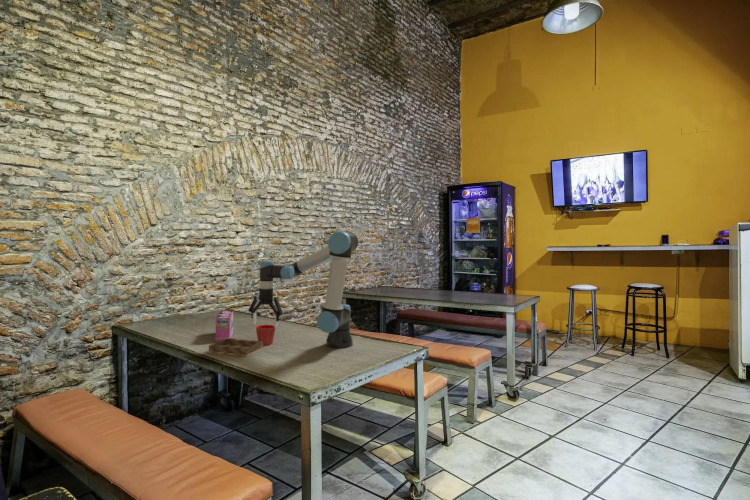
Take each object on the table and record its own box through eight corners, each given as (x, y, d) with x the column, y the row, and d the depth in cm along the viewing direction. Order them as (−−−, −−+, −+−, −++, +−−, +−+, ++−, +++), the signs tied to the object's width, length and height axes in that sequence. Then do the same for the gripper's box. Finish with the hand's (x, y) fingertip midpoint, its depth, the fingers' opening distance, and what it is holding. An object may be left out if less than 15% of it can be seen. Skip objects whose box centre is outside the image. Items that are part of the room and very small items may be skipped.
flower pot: (268, 340, 244) (269, 323, 244) (278, 343, 237) (279, 326, 236) (252, 343, 237) (252, 326, 237) (261, 347, 229) (262, 329, 229)
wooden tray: (262, 348, 226) (263, 341, 226) (246, 356, 211) (246, 348, 210) (227, 345, 232) (227, 337, 231) (208, 352, 216) (208, 345, 216)
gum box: (220, 331, 262) (220, 310, 262) (233, 331, 264) (234, 310, 264) (215, 341, 239) (215, 317, 239) (229, 340, 241) (229, 317, 241)
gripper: (289, 288, 236) (288, 326, 237) (250, 285, 242) (249, 322, 243) (283, 290, 229) (282, 329, 230) (242, 287, 235) (241, 324, 236)
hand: (265, 325), depth 237 cm, fingers open, 13 cm apart
